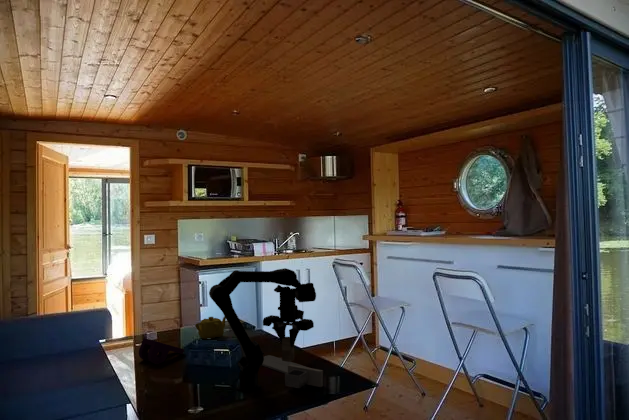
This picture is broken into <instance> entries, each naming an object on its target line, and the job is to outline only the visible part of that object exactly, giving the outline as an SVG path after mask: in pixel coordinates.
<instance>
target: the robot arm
mask: <svg viewBox="0 0 629 420" xmlns="http://www.w3.org/2000/svg"><path fill="white" fill-rule="evenodd" d="M241 283H271V284H277V286H276V287H274V289H273V292H275V293H279V306H278V307H277V311H279V315H273V314H272V315H267V316H264V317H263V319H262V326H265V327H271V325H273V326H272V327H271V329H272V330H274V331H275V334H277V337H278V339H279V341H280V343H281V344H282V338H285V337H286V328H287V326H289V327H290V326H291V327H292V328H290V329H289V331H288V332H289V333H288V334H289V337H290V344H291V347H293V346H294V347H295V343H296V340H297V337H298V334H299V332H300V331H304V332H305V331H309V330H311V329H313V328H314V327H315V326H314V323H315V322H314V321H313V320H312V319H310V318H309V319H308V318H304V313H305V311H303V310H301V309H299V308H298V305H296V301H298V303H308V302H310V303H311V302H315V301H316V299H317V292H316V289H315V287H314V286H315V285H314V283H313V282H308V283H301V282H300V280H299V279H298V277H297V272H295V271H294V270H293V269H289V268H278V269H275V270H270V271H267V270H266V271H265V270H264V271H260V270H257V271H256V270H255V271H253V270H233V271H231V273H229V275H227V276H226V277H225V278H223V279H222V280H221V281H220V282H219V283H218V284H215V285H212V286H211V287H210V289H209V291H208V293H209V294H208V295H209V297H210V299H211V300H212V301H213V303H214V304H215V305H216V306H217V308H218V309H220V310H221V312H222V314H223V317H224V316H225V318H226V322H228V325H229V327H230V329H231V330H232V332H233V334H234V336H235V338H236V340H237V341H238V343H239V345H240V350H241V353H242V357H241V358H240V359H239V360H238V361H237V366H238V368H239V370H240V371H239V372H238V373H239V374H238V376H239V377H238V383H239V384H238V386H237V387H236V388H235V390H236V391H240V392H243V393H249V394H250V393H253V392H254V391H256V390H258V389H260V388H261V387H262V385H260V384H258V383H259V379H258V378H259V376H258V375H259V374H258V373H259V370H260V368H261V366H262V364H263V361H264V357H265V356H264V355H265V353H264V352H263V351H262V349H261V346H260V344H259V343H258V342H257V341H256V340H253V341H252V340H251V339H250V337H249V335H248V333H247V331H246V329H245V327H244V325H243V324H242V322H241V319H240V318H239V316H238V314H237V313H236V310H235V308H234V307H233V303H232V298H231V296H230V295H232V293H233V292H234V291H235V290H236V288H237V287H238V286H239V284H241ZM291 287H293V288H291Z"/></svg>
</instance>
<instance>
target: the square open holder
mask: <svg viewBox="0 0 629 420" xmlns="http://www.w3.org/2000/svg"><path fill="white" fill-rule="evenodd" d="M307 383H308V372H307V370H302V369H301V370H297V369H293V370H291V371H289V372H288V373H286V374H284V386H285V387H291V388H295V389H301V388H302V387H304V386H305V385H307Z"/></svg>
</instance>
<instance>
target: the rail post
mask: <svg viewBox="0 0 629 420" xmlns="http://www.w3.org/2000/svg"><path fill="white" fill-rule="evenodd" d="M281 359H282V361H287V362H292V361H294V360H295V345H294V346H293V347H291V344H290V336H285V338H282V343H281Z"/></svg>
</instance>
